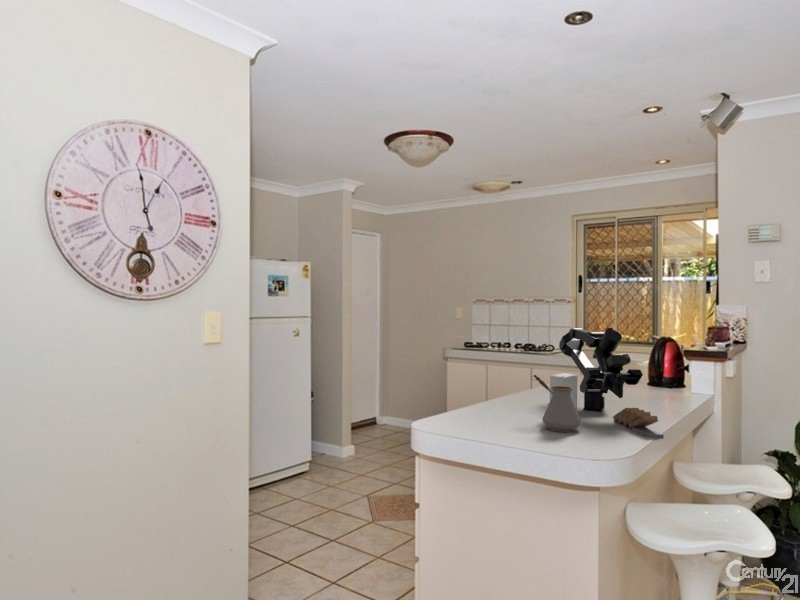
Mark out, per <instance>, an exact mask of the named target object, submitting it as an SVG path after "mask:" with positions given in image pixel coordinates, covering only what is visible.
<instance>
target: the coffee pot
mask: <svg viewBox="0 0 800 600" xmlns="http://www.w3.org/2000/svg"><path fill="white" fill-rule="evenodd" d="M533 377H534V378H535V379H534V381H536V382H537V381H538V383H539V385H541V386H542V387H543V388H545V390H547V391H548V393H549V394H550V393H551V394H552V395H553V396H552V398H551V400H550V399H549V402H548V404H547V407H546V410H545V411H544V414H543V416H542V419H541V420H542V421H543V424H544V425H545V427H548V429H549V430H550V431H553V432H554V431H555V432H559V433H560V432H561V433H568V432H569V433H571V432H574V431H575V430H576V429H577V428H578V427H579V426H580V425H581V423H582V421H581V417H580V416H579V413H578V409H577V410H576V408H575V406H574V403H573V401H572V398H571V396H570V393H571V390H572V388H571V387H562V386H555V387H551V389H552V390H551V389H550V386H548V385H547V384H546V383H545V381H544V380H542V379H540V377H539V376H537V374H534V375H532V376H531V380H533Z"/></svg>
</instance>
